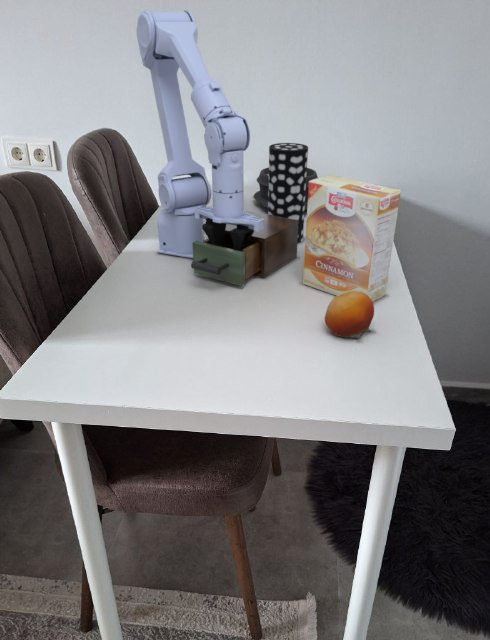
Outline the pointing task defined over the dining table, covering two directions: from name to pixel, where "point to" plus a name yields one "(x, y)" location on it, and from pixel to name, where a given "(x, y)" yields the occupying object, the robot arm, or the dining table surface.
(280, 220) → the cabinet
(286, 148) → the spotted tube
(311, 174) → the casserole
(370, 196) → the coffeecake box
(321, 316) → the dining table surface
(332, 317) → the fruit
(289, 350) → the dining table surface
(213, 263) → the drawer
